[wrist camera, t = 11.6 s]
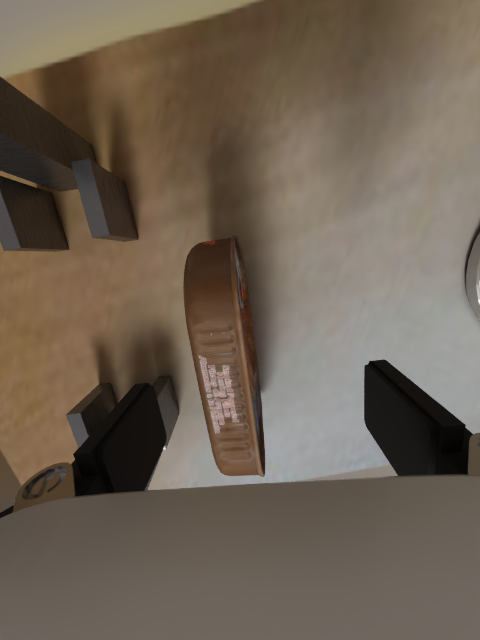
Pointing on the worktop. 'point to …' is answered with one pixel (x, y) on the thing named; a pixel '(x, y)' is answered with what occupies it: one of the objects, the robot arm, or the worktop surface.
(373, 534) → the robot arm
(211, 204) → the worktop surface
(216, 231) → the worktop surface
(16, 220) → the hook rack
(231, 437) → the tin
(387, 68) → the worktop surface
